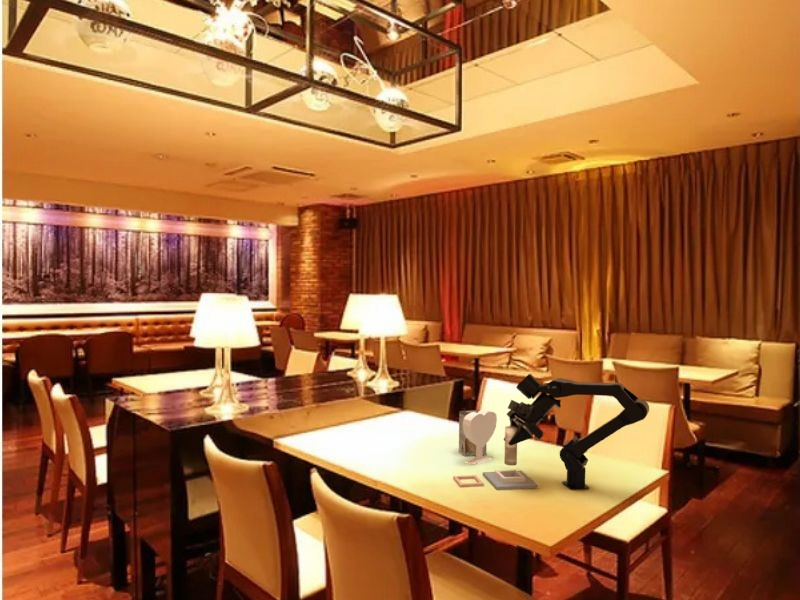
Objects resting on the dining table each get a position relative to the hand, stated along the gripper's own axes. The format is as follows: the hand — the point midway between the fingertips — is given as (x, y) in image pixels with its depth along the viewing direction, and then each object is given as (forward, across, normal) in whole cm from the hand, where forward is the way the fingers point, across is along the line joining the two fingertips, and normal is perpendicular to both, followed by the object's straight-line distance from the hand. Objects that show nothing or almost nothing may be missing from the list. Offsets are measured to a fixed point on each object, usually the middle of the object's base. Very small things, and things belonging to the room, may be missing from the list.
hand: (506, 442), depth 190 cm
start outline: (+18, -1, 0) cm, 18 cm away
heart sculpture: (+10, -23, +8) cm, 27 cm away
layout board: (+8, 0, +10) cm, 13 cm away
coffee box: (+10, -31, +8) cm, 34 cm away
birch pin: (+4, 0, +6) cm, 7 cm away
